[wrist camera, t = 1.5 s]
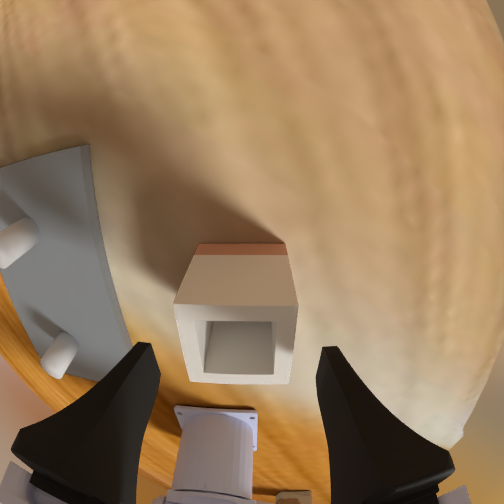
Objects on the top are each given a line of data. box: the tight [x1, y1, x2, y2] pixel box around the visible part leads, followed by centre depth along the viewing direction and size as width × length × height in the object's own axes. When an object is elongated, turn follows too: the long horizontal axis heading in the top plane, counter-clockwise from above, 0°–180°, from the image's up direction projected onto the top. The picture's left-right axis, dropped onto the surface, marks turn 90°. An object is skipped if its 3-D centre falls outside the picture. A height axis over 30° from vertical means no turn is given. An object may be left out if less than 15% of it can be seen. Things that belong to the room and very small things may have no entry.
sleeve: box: [173, 244, 298, 384], centre depth 15 cm, size 5×5×6 cm
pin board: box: [0, 144, 133, 382], centre depth 16 cm, size 20×12×4 cm, turn 0°
